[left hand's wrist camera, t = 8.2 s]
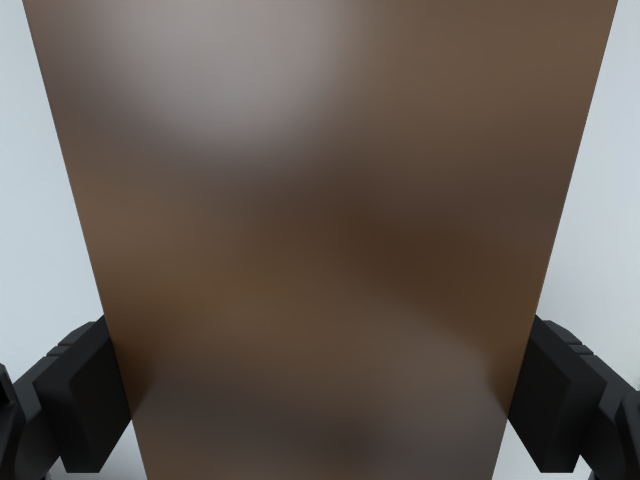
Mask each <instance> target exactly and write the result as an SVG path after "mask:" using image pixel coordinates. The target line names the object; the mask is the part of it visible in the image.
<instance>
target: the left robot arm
mask: <svg viewBox="0 0 640 480" xmlns="http://www.w3.org/2000/svg"><path fill="white" fill-rule="evenodd" d="M508 420H509V421H510V423H511V425H512V426H513V428H514V430H515V431H516V433H517V435H518V436H519V438H520V439H521V441H522V443H523V444H524V446H525V448H526V449H527V451H528V453H529V454H530V456H531V458H532V459H533V461H534V462H535V464H536V466H537V467H538V469H539V471H540V472H541V473H573V471H574V468H575V466H576V463H577V461H578V458H579V455H581V456H582V457H583V459H584V460H585V461H586V463H587V464H588V465H589V467H590V468H591V469H592V471H591V474H590V476H589V479H588V480H640V391H636V390H635V389H634V388H633V387H632V386H630V385H629V384H628V383H627V382H626V381H625V380H624V379H623V378H621V377H620V376H619V375H618V374H617V373H616V372H615V371H614V370H612V369H611V368H610V367H609V366H608V365H607V364H606V363H605V362H603V361H602V360H601V359H600V358H599V357H598V356H597V355H594V354H593V352H592V351H591V350H590V349H589V348H588V347H587V346H585V345H582V342H581V341H580V340H579V339H577V338H576V337H575V336H574V335H573V334H572V333H571V332H570V331H568V330H567V329H565V328H563V327H561V326H559V325H558V324H556V323H554V322H552V321H550V320H541V319H540V318H539V317H538V316H537V315H536V314H535V317H534V321H533V325H532V328H531V332H530V336H529V340H528V344H527V347H526V351H525V355H524V359H523V363H522V366H521V370H520V374H519V378H518V382H517V385H516V389H515V393H514V397H513V401H512V404H511V408H510V412H509V416H508ZM130 421H131V415H130V411H129V407H128V404H127V400H126V396H125V392H124V388H123V385H122V381H121V377H120V373H119V369H118V365H117V362H116V358H115V354H114V350H113V346H112V342H111V339H110V335H109V331H108V327H107V323H106V319H105V316H104V315H103V316H102V317H100V318H99V319H98V320H97V321H96V322H88V323H86V324H84V325H83V326H81V327H79V328H77V329H76V330H74V331H72V332H71V333H69V334H68V335H67V336H66V337H65V338H64V339H63V340H62V341H60V342H59V343H58V346H55V347H54V348H53V349H52V350H50V351H49V352H48V353H47V355H46V357H43V358H41V359H40V360H39V361H38V362H37V363H36V364H35V365H34V366H32V367H31V368H30V369H29V370H28V371H27V372H26V373H25V374H24V375H22V376H21V377H20V378H19V379H18V380H17V381H16V382H15V383H13V384H12V382H11V379H10V377H9V375H8V372H7V370H6V367H5V366H4V365H3V364H1V363H0V480H51V476H50V474H49V469H50V468H51V467H52V465H53V464H54V463H55V461H56V460H57V459H58V457H59V456H60V457H61V459H62V462H63V464H64V467H65V470H66V472H67V473H99V472H100V470H101V468H102V467H103V465H104V463H105V462H106V460H107V459H108V457H109V455H110V454H111V452H112V450H113V449H114V447H115V445H116V444H117V442H118V440H119V439H120V437H121V436H122V434H123V432H124V431H125V429H126V427H127V426H128V424H129V422H130Z"/></svg>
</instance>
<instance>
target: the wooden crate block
mask: <svg viewBox="0 0 640 480" xmlns="http://www.w3.org/2000/svg"><path fill="white" fill-rule="evenodd" d="M22 2H23V6H24V9H25V13H26V17H27V21H28V25H29V28H30V32H31V36H32V40H33V44H34V48H35V51H36V55H37V59H38V63H39V67H40V71H41V74H42V78H43V82H44V86H45V90H46V94H47V97H48V101H49V105H50V109H51V113H52V117H53V120H54V124H55V128H56V132H57V136H58V140H59V143H60V147H61V151H62V155H63V159H64V162H65V166H66V170H67V174H68V178H69V182H70V185H71V189H72V193H73V197H74V201H75V205H76V208H77V212H78V216H79V220H80V224H81V228H82V231H83V235H84V239H85V243H86V247H87V251H88V254H89V258H90V262H91V266H92V270H93V273H94V277H95V281H96V285H97V289H98V293H99V296H100V300H101V304H102V308H103V312H104V316H105V319H106V323H107V327H108V331H109V335H110V339H111V342H112V346H113V350H114V354H115V358H116V362H117V365H118V369H119V373H120V377H121V381H122V385H123V388H124V392H125V396H126V400H127V404H128V407H129V411H130V415H131V419H132V423H133V427H134V430H135V434H136V438H137V442H138V446H139V450H140V453H141V457H142V461H143V465H144V469H145V473H146V476H147V480H492V476H493V473H494V469H495V465H496V461H497V457H498V454H499V450H500V446H501V442H502V438H503V435H504V431H505V427H506V423H507V419H508V416H509V412H510V408H511V404H512V401H513V397H514V393H515V389H516V385H517V382H518V378H519V374H520V370H521V366H522V363H523V359H524V355H525V351H526V347H527V344H528V340H529V336H530V332H531V328H532V325H533V321H534V317H535V313H536V309H537V306H538V302H539V298H540V294H541V291H542V287H543V283H544V279H545V275H546V272H547V268H548V264H549V260H550V256H551V253H552V249H553V245H554V241H555V237H556V234H557V230H558V226H559V222H560V218H561V215H562V211H563V207H564V203H565V200H566V196H567V192H568V188H569V184H570V181H571V177H572V173H573V169H574V165H575V162H576V158H577V154H578V150H579V146H580V143H581V139H582V135H583V131H584V127H585V124H586V120H587V116H588V112H589V109H590V105H591V101H592V97H593V93H594V90H595V86H596V82H597V78H598V74H599V71H600V67H601V63H602V59H603V55H604V52H605V48H606V44H607V40H608V36H609V33H610V29H611V25H612V21H613V18H614V14H615V10H616V6H617V2H618V0H22Z"/></svg>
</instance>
